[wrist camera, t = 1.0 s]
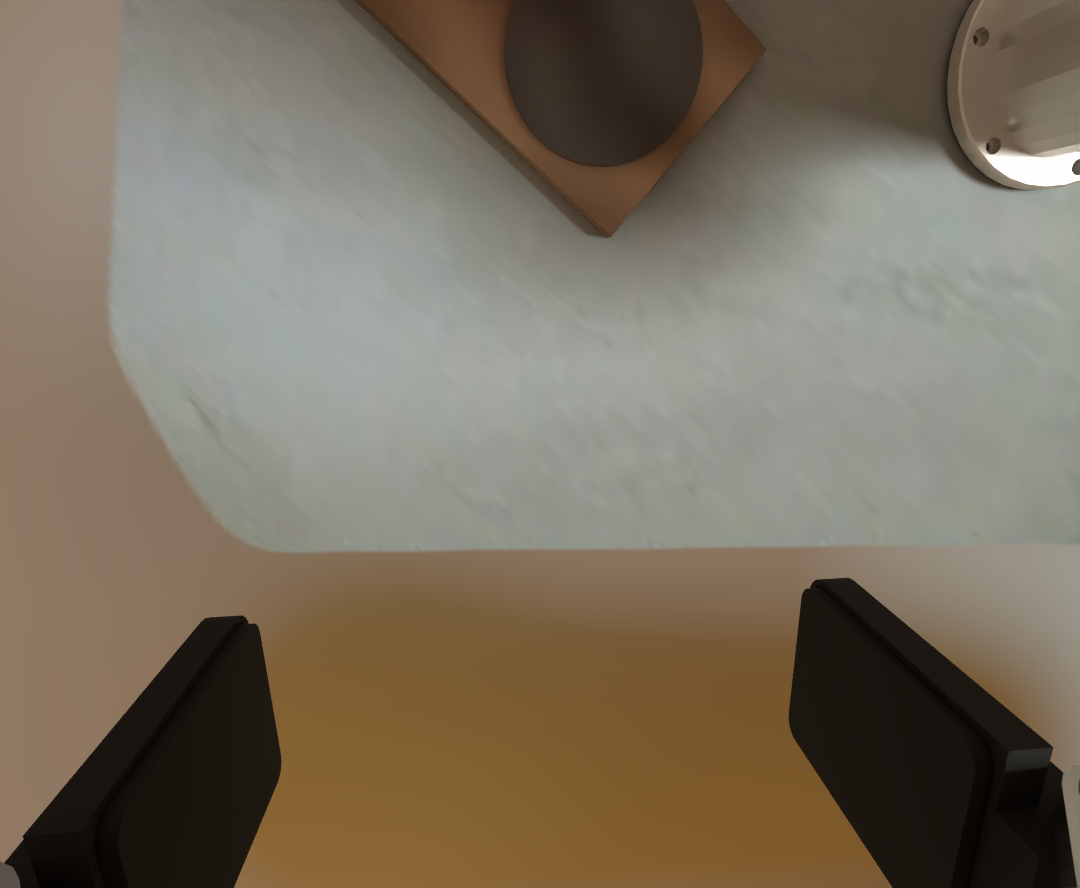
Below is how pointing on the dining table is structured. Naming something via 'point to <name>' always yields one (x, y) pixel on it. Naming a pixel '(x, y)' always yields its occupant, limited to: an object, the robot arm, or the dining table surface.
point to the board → (583, 82)
